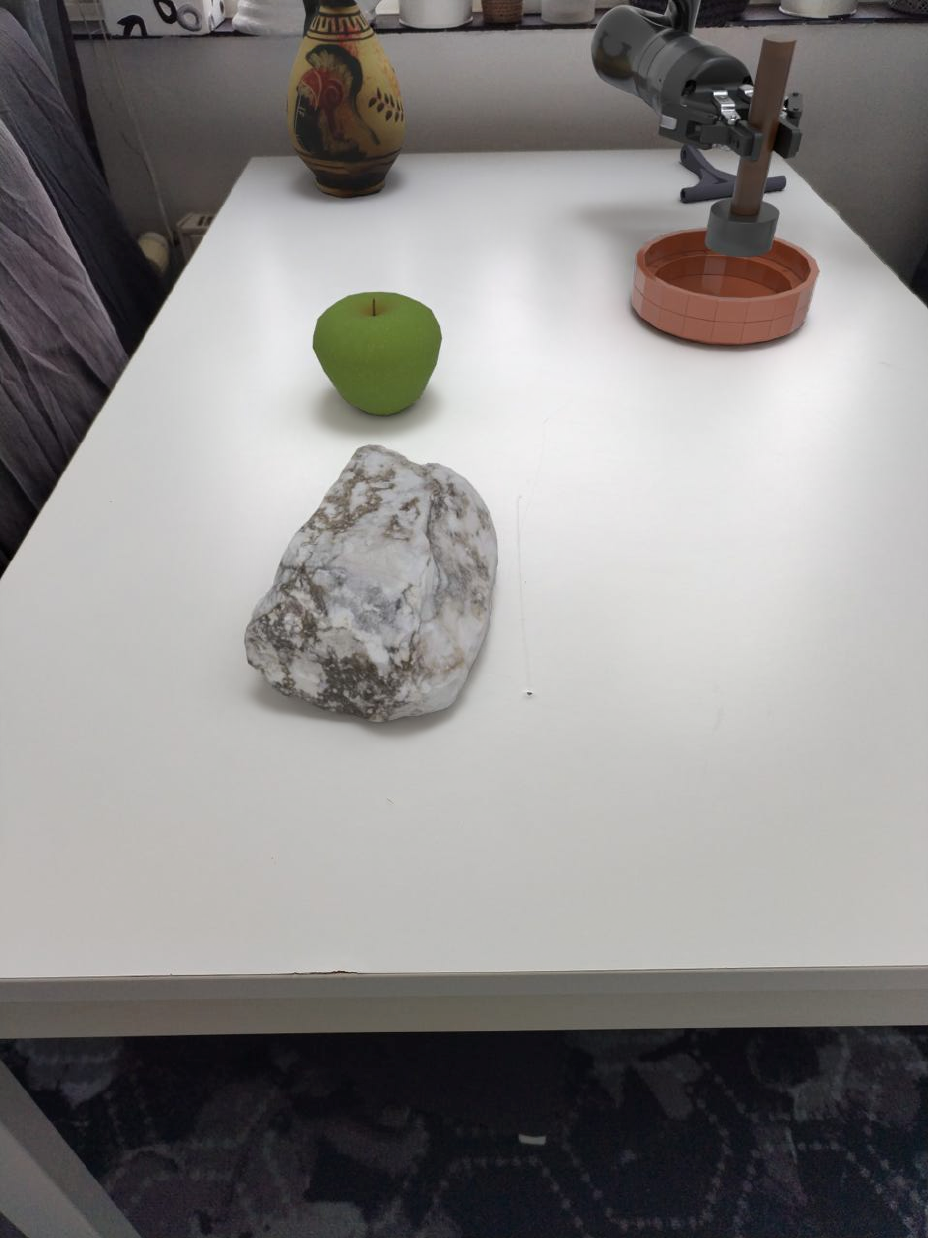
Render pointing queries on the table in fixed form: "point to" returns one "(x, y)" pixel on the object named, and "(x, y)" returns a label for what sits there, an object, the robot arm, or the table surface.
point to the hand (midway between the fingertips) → (775, 146)
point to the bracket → (714, 178)
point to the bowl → (722, 289)
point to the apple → (378, 349)
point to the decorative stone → (380, 592)
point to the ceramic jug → (344, 101)
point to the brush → (755, 162)
